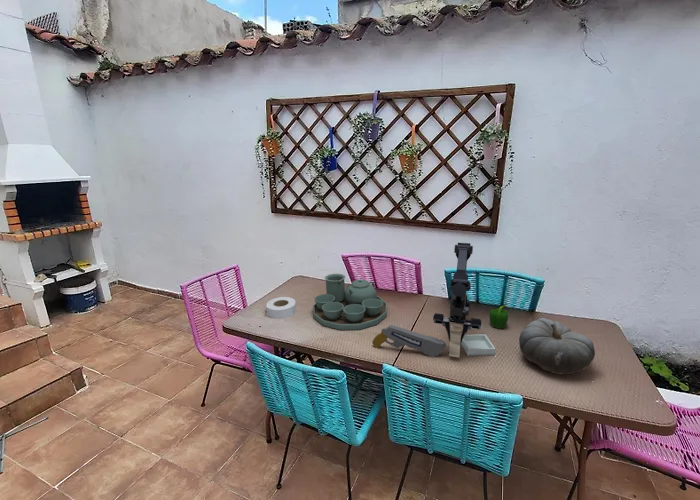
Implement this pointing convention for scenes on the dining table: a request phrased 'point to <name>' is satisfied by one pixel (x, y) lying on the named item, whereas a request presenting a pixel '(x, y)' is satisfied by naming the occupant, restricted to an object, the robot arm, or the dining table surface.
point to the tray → (477, 345)
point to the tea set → (349, 304)
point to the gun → (410, 340)
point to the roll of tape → (281, 307)
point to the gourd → (556, 347)
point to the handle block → (455, 341)
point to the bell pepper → (498, 317)
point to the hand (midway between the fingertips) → (455, 341)
